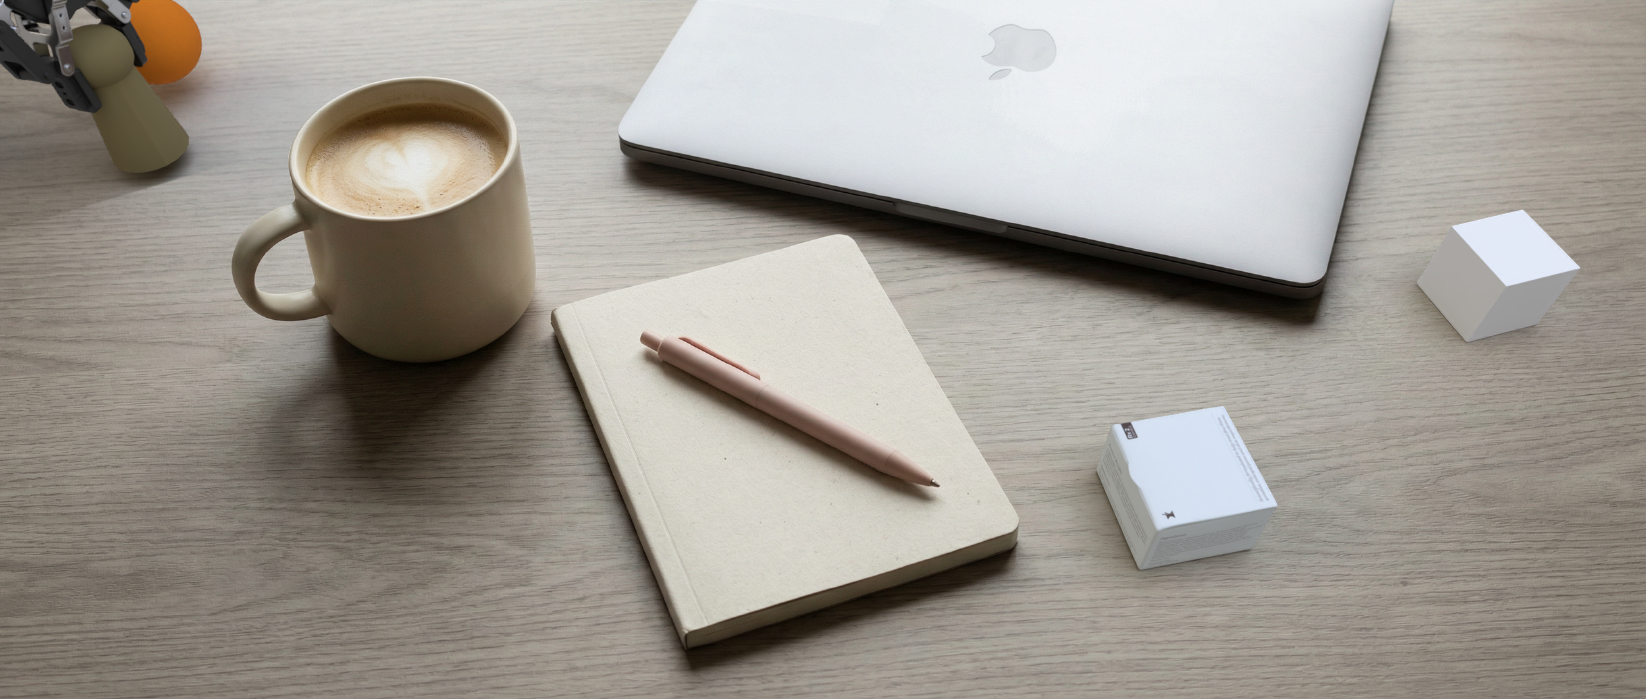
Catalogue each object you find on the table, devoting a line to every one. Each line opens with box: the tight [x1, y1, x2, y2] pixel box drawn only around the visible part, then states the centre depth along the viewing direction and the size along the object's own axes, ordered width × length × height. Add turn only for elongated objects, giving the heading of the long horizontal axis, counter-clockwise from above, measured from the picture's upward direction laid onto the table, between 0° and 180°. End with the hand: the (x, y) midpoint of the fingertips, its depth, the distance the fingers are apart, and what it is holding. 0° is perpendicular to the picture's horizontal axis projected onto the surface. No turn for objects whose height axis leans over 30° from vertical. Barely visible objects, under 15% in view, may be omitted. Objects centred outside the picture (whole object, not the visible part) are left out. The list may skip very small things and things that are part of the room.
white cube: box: [1416, 209, 1581, 343], centre depth 80 cm, size 6×6×6 cm
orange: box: [99, 0, 203, 85], centre depth 96 cm, size 8×8×8 cm
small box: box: [1096, 405, 1279, 571], centre depth 69 cm, size 8×8×5 cm
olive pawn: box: [70, 23, 190, 174], centre depth 88 cm, size 6×6×11 cm
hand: (111, 85), depth 88 cm, fingers closed on olive pawn, 5 cm apart
